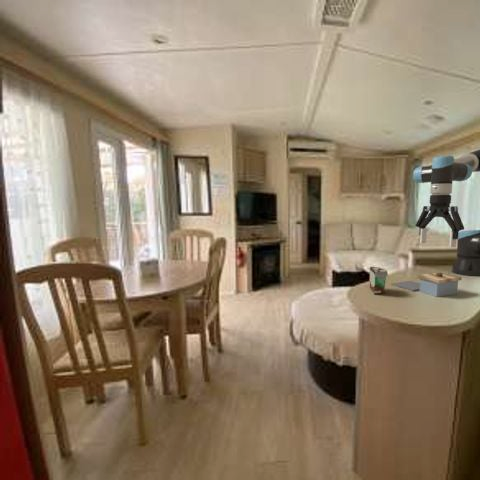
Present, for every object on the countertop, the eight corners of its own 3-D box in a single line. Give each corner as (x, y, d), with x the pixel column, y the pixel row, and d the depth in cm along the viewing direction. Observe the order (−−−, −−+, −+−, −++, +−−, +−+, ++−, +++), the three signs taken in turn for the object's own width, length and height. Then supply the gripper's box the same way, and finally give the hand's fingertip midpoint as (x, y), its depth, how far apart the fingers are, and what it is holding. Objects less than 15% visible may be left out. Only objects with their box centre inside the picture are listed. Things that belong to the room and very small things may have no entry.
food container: (390, 296, 131) (391, 272, 129) (374, 295, 132) (375, 272, 131) (383, 288, 143) (384, 266, 141) (368, 287, 144) (369, 266, 143)
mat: (410, 282, 153) (410, 280, 153) (433, 288, 141) (433, 286, 141) (391, 284, 148) (391, 283, 148) (413, 291, 137) (413, 289, 137)
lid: (438, 274, 141) (439, 269, 141) (461, 280, 132) (461, 274, 132) (417, 277, 137) (417, 272, 136) (438, 283, 127) (439, 277, 127)
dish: (439, 288, 141) (440, 275, 140) (457, 293, 133) (458, 279, 133) (419, 291, 137) (420, 278, 136) (436, 296, 129) (437, 282, 128)
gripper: (408, 195, 141) (405, 242, 144) (464, 193, 118) (459, 249, 121) (421, 195, 144) (418, 241, 146) (478, 193, 121) (473, 248, 123)
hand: (436, 245), depth 133 cm, fingers open, 13 cm apart
